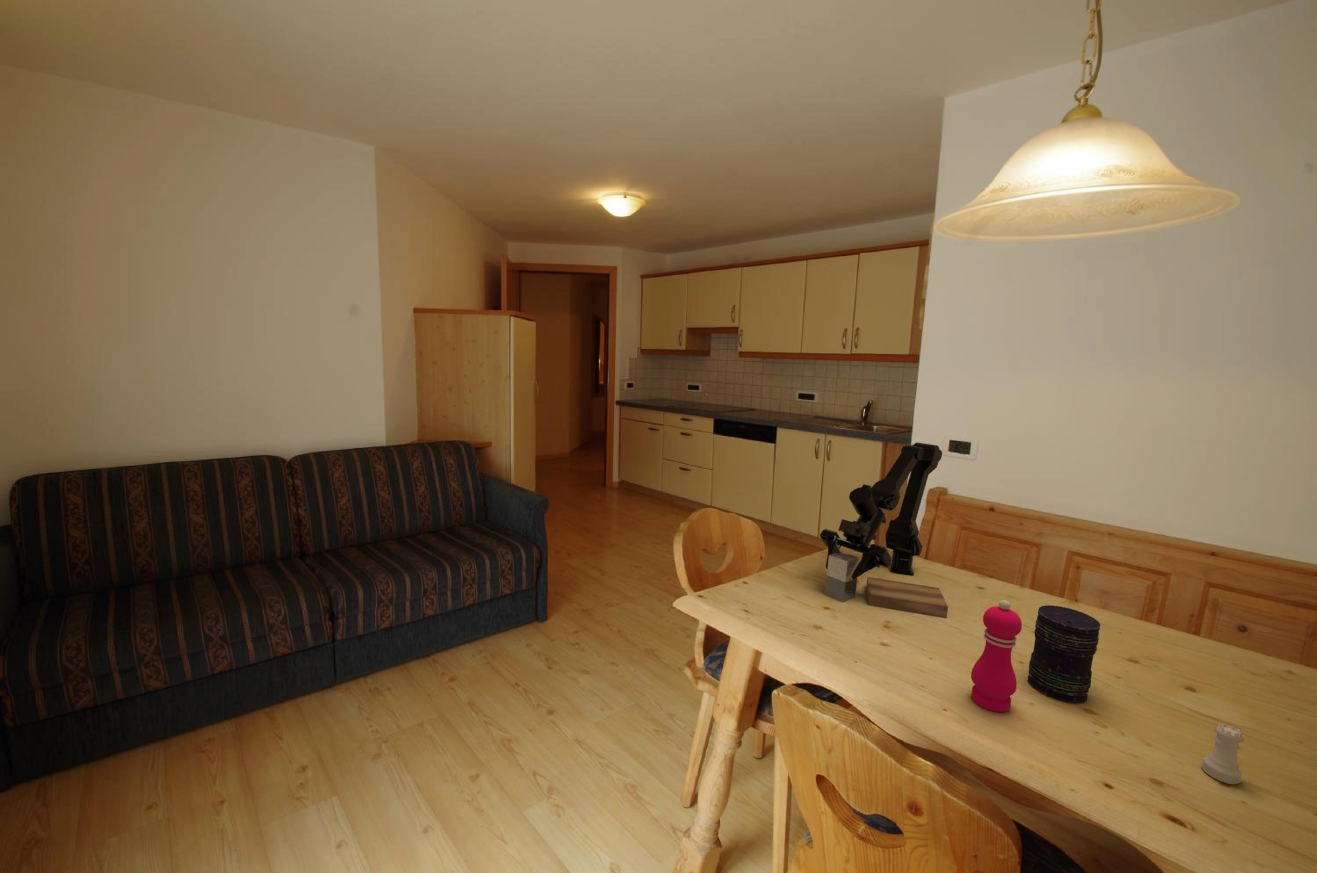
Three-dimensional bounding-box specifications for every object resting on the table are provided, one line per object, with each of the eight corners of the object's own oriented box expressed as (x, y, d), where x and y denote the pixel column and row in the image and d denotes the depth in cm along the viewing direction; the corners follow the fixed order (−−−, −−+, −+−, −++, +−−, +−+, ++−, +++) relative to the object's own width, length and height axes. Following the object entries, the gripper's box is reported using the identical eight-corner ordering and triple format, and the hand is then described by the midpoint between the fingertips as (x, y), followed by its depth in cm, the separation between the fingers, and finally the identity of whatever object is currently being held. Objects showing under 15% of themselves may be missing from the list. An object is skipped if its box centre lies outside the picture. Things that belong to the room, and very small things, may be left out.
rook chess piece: (1209, 780, 85) (1220, 733, 84) (1194, 761, 89) (1203, 716, 88) (1247, 789, 83) (1258, 742, 82) (1229, 769, 88) (1240, 724, 86)
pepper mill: (960, 689, 106) (974, 590, 103) (998, 691, 106) (1013, 593, 103) (981, 713, 99) (996, 608, 96) (1022, 715, 99) (1038, 610, 96)
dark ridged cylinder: (1027, 668, 115) (1038, 600, 112) (1086, 686, 109) (1099, 615, 107) (1025, 690, 107) (1037, 618, 104) (1089, 711, 101) (1103, 635, 99)
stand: (866, 587, 152) (867, 577, 152) (937, 598, 147) (938, 587, 147) (868, 605, 141) (870, 594, 140) (946, 618, 136) (948, 606, 135)
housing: (836, 590, 150) (840, 551, 148) (855, 597, 145) (859, 557, 144) (825, 594, 146) (828, 555, 145) (843, 602, 142) (847, 561, 140)
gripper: (826, 500, 152) (798, 545, 147) (890, 517, 138) (862, 568, 132) (840, 523, 158) (813, 567, 153) (903, 542, 144) (876, 592, 138)
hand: (839, 573), depth 144 cm, fingers open, 7 cm apart
